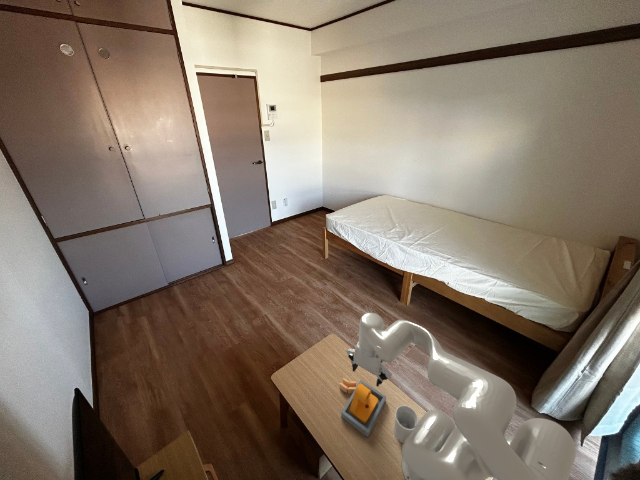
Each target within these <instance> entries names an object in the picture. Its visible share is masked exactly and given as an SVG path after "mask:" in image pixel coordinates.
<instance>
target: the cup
mask: <svg viewBox="0 0 640 480" xmlns="http://www.w3.org/2000/svg"><path fill="white" fill-rule="evenodd" d="M394 412H395V413H394V414H395V415H394V428H393V434H394V437H395V438H396V439H397V440H398V441H399V442H400V443H402V444H404V442H405V440H406V439H407V437H408V436H409V435H410V433H411V432H412V431H413V429H414V428H415V426H416V425H417V423H418V422H419V421H420V419H419V417H418V416H419V415H418V414H417V412H416V411H415V410H414V409H413V408H412V406H409V405H406V404H405V405H404V404H401V405H399V406H397V408H396V409H395V411H394Z"/></svg>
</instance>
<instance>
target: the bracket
mask: <svg viewBox="0 0 640 480" xmlns="http://www.w3.org/2000/svg"><path fill="white" fill-rule="evenodd" d="M358 384H359V383H358ZM358 384H357V385H358ZM357 385H356V387H357V388H356V390H355V393H354V396H353V400H352V403H351V407H350V413H351V414H353V415H354V416H355V417H356V418H358V419H359V420H360V421H361V422H362V423H364V424H365V423H367V421H368V420H369V418H370V417H371V415H372V413H373V411H374V410H375V407H376V405H377V403H378V399H377V398H376V397H375V396H374V395H372V394H371V390H370V389H368V388H367V387H366V386H364V385H363V384H361V383H360V384H359V385H358V386H357Z"/></svg>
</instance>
